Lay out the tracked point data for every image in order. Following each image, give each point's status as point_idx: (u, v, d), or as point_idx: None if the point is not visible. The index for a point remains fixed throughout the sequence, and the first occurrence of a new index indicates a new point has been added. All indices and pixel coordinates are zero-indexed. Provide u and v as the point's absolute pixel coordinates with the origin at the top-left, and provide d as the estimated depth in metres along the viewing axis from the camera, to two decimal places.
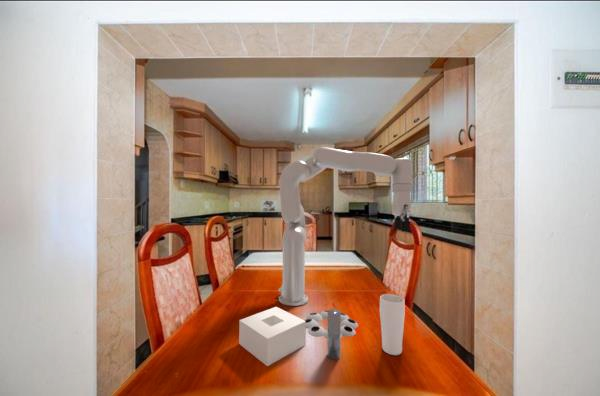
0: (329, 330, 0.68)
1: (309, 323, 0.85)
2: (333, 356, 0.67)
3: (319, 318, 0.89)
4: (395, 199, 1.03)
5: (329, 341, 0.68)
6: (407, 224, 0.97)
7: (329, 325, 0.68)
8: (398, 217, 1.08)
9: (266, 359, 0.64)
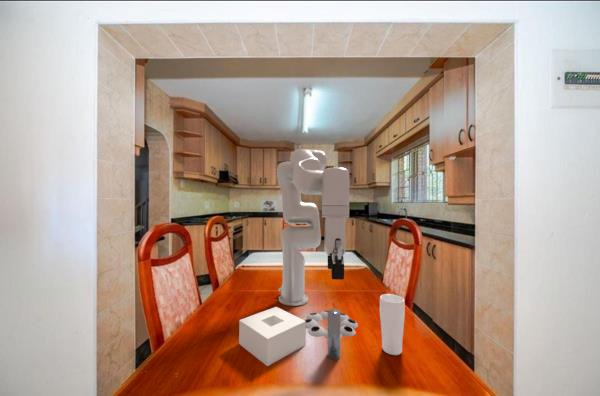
0: (329, 330, 0.68)
1: (309, 323, 0.85)
2: (333, 356, 0.67)
3: (319, 318, 0.89)
4: (325, 228, 0.69)
5: (329, 341, 0.68)
6: (339, 269, 0.64)
7: (329, 325, 0.68)
8: None
9: (266, 359, 0.64)
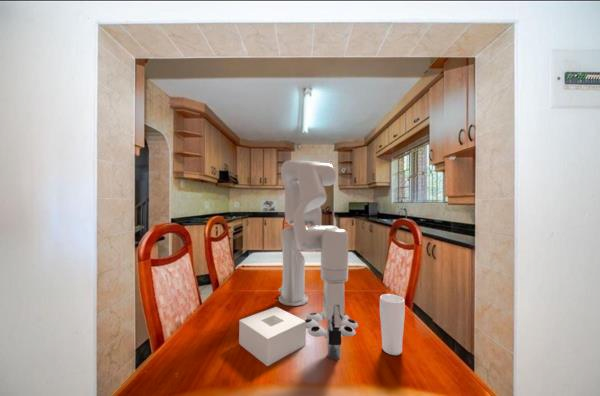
0: None
1: (309, 323, 0.85)
2: (333, 356, 0.67)
3: (319, 318, 0.89)
4: (324, 290, 0.68)
5: None
6: (337, 336, 0.66)
7: (329, 325, 0.68)
8: None
9: (266, 359, 0.64)
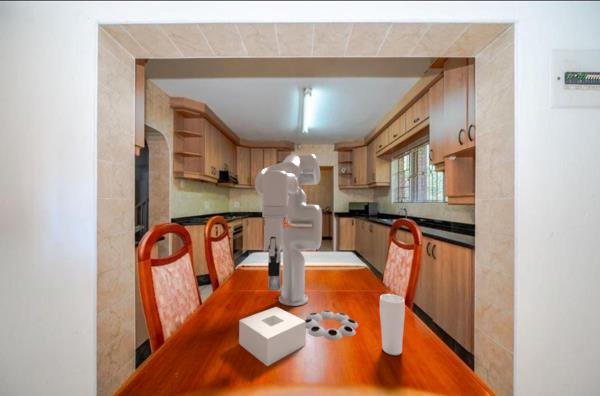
0: None
1: (309, 323, 0.85)
2: (272, 287, 0.72)
3: (319, 318, 0.89)
4: None
5: None
6: (274, 267, 0.71)
7: None
8: None
9: (266, 359, 0.64)
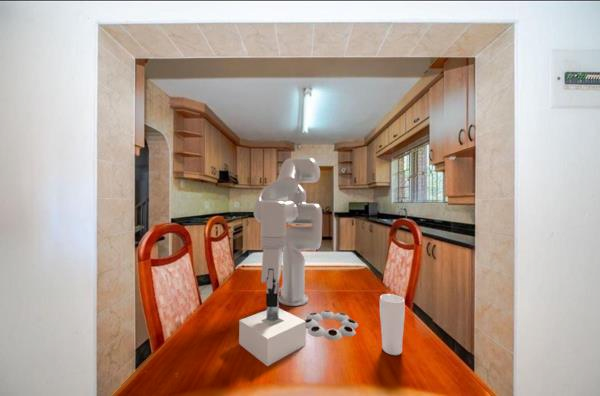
0: None
1: (309, 323, 0.85)
2: (270, 317, 0.72)
3: (319, 318, 0.89)
4: None
5: None
6: (272, 298, 0.71)
7: None
8: None
9: (266, 359, 0.64)
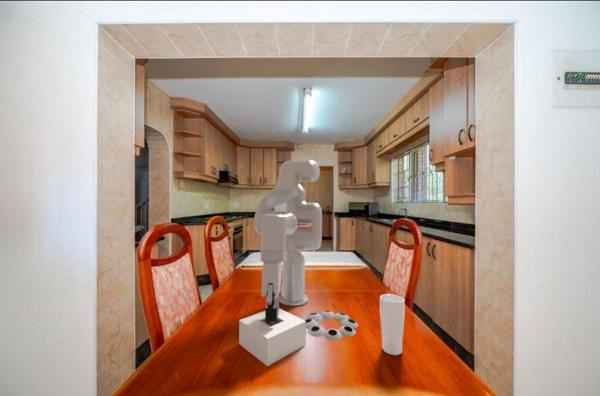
0: None
1: (309, 323, 0.85)
2: None
3: (319, 318, 0.89)
4: None
5: None
6: (272, 313, 0.70)
7: None
8: None
9: (266, 359, 0.64)
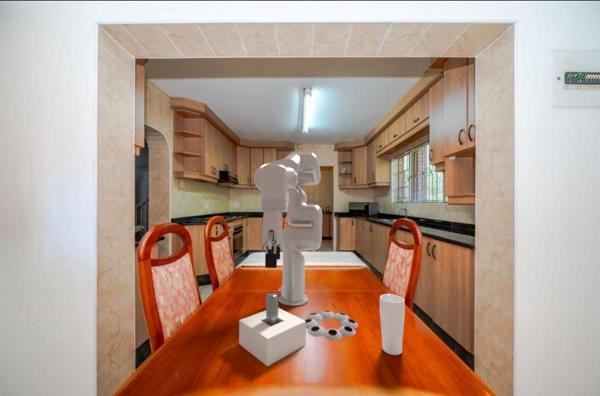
0: (267, 312, 0.73)
1: (309, 323, 0.85)
2: None
3: (319, 318, 0.89)
4: None
5: (267, 322, 0.73)
6: (272, 258, 0.69)
7: (267, 307, 0.73)
8: None
9: (266, 359, 0.64)
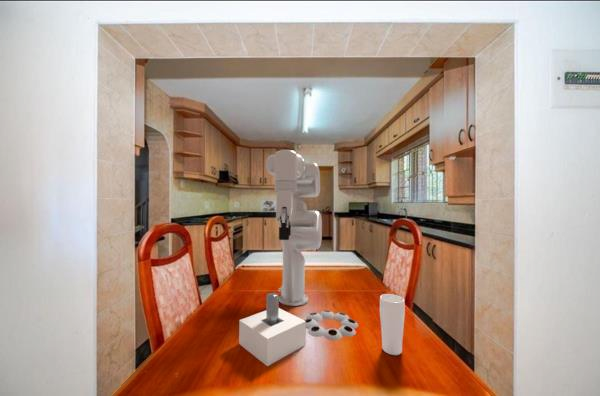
0: (267, 311, 0.73)
1: (309, 323, 0.85)
2: None
3: (319, 318, 0.89)
4: None
5: (267, 322, 0.73)
6: (285, 231, 0.79)
7: (267, 307, 0.73)
8: None
9: (266, 359, 0.64)
